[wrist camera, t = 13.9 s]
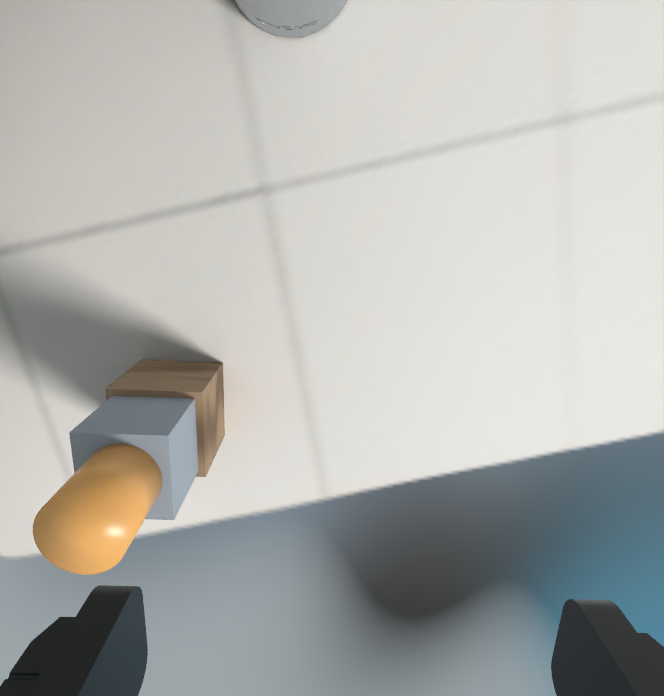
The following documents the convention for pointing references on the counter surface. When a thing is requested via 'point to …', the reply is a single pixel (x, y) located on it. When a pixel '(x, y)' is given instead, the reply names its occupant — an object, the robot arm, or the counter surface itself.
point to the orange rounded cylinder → (98, 510)
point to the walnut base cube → (183, 396)
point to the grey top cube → (146, 441)
